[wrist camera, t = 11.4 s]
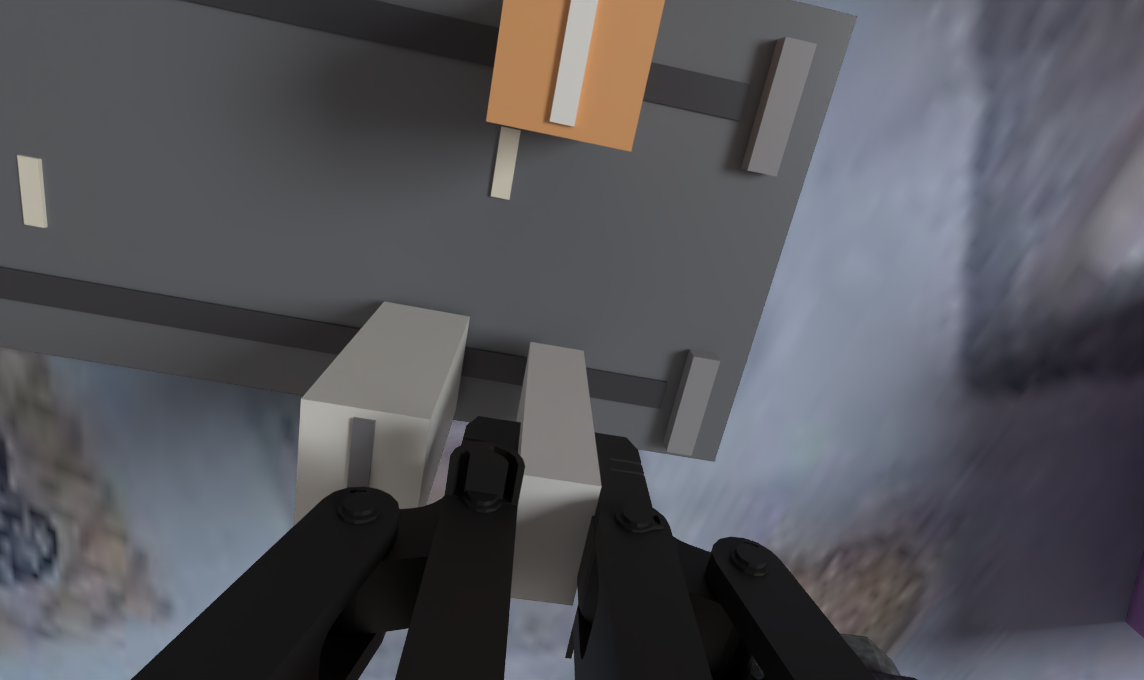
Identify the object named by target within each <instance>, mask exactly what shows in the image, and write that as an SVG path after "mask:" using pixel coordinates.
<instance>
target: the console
mask: <svg viewBox="0 0 1144 680" xmlns="http://www.w3.org/2000/svg"><path fill="white" fill-rule="evenodd" d="M502 7H503V0H0V347H4V348H11V349H17V350H23V351H29V352H35V353H42V354H48V355H54V356H60V357H67V358H73V359H79V360H85V361H91V362H98V363H104V364H110V365H116V366H123V367H129V368H135V369H141V370H147V371H154V372H160V373H166V374H172V375H179V376H185V377H191V378H197V379H203V380H210V381H216V382H222V383H228V384H235V385H241V386H247V387H253V388H259V389H266V390H272V391H278V392H284V393H291V394H297V395H303V396H304V395H305V394H306V392H307V391H308V390H309V389H310V388H311V387H312V385H313V384H314V383H315V382H316V381H317V380H318V378H319V377H320V376H321V375H322V374H323V373H324V371H325V370H326V369H327V368H328V367H329V366H330V364H331V363H332V362H333V361H334V360H335V359H336V357H337V356H338V355H339V354H340V353H341V351H342V350H343V349H344V348H345V347H346V346H347V344H348V343H349V342H350V341H351V340H352V339H353V337H354V336H355V335H356V334H357V333H358V332H359V330H360V329H361V328H362V327H363V326H364V325H365V323H366V322H367V321H368V320H369V319H370V318H371V316H372V315H373V314H374V313H375V312H376V311H377V309H378V308H379V307H380V306H381V305H382V304H383V302H384V301H385V302H391V303H396V304H402V305H408V306H413V307H419V308H424V309H430V310H436V311H441V312H447V313H453V314H458V315H464V316H470V319H469V326H468V333H467V339H466V346H465V352H464V359H463V366H462V372H461V379H460V385H459V392H458V399H457V405H456V411H455V414H454V417H453V420H459V421H465V422H471V421H473V420H474V419H475V418H476V417H478V416H482V417H489V418H495V419H501V420H508V421H514V422H516V420H517V414H518V408H519V403H520V397H521V392H522V386H523V381H524V375H525V370H526V364H527V359H528V353H529V347H530V342H535V343H541V344H547V345H553V346H559V347H565V348H571V349H577V350H583V351H584V357H585V365H586V373H587V380H588V388H589V395H590V403H591V410H592V418H593V426H594V432H596V433H602V434H609V435H615V436H621V437H627V438H628V439H629V441H630V442H631V443H632V444H633V445H634V446H635V447H636V448H637V449H639V450H645V451H651V452H658V453H664V454H670V455H676V456H683V457H689V458H695V459H701V460H707V461H715V458H716V455H717V452H718V449H719V445H720V442H721V439H722V436H723V433H724V430H725V427H726V424H727V420H728V417H729V414H730V411H731V408H732V405H733V402H734V399H735V395H736V392H737V389H738V386H739V383H740V380H741V377H742V374H743V371H744V367H745V364H746V361H747V358H748V355H749V352H750V349H751V346H752V342H753V339H754V336H755V333H756V330H757V327H758V324H759V321H760V317H761V314H762V311H763V308H764V305H765V302H766V299H767V296H768V293H769V289H770V286H771V283H772V280H773V277H774V274H775V271H776V268H777V264H778V261H779V258H780V255H781V252H782V249H783V246H784V243H785V239H786V236H787V233H788V230H789V227H790V224H791V221H792V218H793V215H794V211H795V208H796V205H797V202H798V199H799V196H800V193H801V190H802V186H803V183H804V180H805V177H806V174H807V171H808V168H809V165H810V161H811V158H812V155H813V152H814V149H815V146H816V143H817V140H818V137H819V133H820V130H821V127H822V124H823V121H824V118H825V115H826V112H827V108H828V105H829V102H830V99H831V96H832V93H833V90H834V87H835V83H836V80H837V77H838V74H839V71H840V68H841V65H842V62H843V59H844V55H845V52H846V49H847V46H848V43H849V40H850V37H851V34H852V30H853V27H854V24H855V21H856V18H857V16H855V15H851V14H847V13H843V12H838V11H834V10H830V9H826V8H822V7H818V6H813V5H809V4H805V3H801V2H797V1H793V0H665V3H664V7H663V12H662V16H661V21H660V25H659V30H658V34H657V39H656V43H655V48H654V52H653V56H652V61H651V65H650V70H649V74H648V79H647V83H646V88H645V92H644V97H643V101H642V106H641V110H640V115H639V119H638V124H637V128H636V133H635V137H634V141H633V146H632V150H631V152H630V151H626V150H621V149H616V148H611V147H606V146H602V145H597V144H592V143H587V142H582V141H578V140H573V139H568V138H563V137H559V136H554V135H549V134H544V133H539V132H535V131H530V130H525V129H520V128H515V127H511V126H506V125H501V124H496V123H492V122H487V121H486V118H487V111H488V104H489V97H490V90H491V83H492V76H493V70H494V63H495V56H496V49H497V42H498V35H499V28H500V21H501V14H502Z"/></svg>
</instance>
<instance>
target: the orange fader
mask: <svg viewBox="0 0 1144 680" xmlns="http://www.w3.org/2000/svg"><path fill="white" fill-rule="evenodd" d="M664 3H665V0H503V7H502V14H501V21H500V28H499V35H498V42H497V49H496V56H495V63H494V70H493V76H492V83H491V90H490V97H489V104H488V111H487V118H486V121H487V122H492V123H496V124H501V125H506V126H511V127H515V128H520V129H525V130H530V131H535V132H539V133H544V134H549V135H554V136H559V137H563V138H568V139H573V140H578V141H582V142H587V143H592V144H597V145H602V146H606V147H611V148H616V149H621V150H626V151H630V152H631V150H632V146H633V141H634V137H635V133H636V128H637V124H638V119H639V115H640V110H641V106H642V101H643V97H644V92H645V88H646V83H647V79H648V74H649V70H650V65H651V61H652V56H653V52H654V48H655V43H656V39H657V34H658V30H659V25H660V21H661V16H662V12H663V7H664Z"/></svg>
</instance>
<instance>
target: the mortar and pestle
mask: <svg viewBox="0 0 1144 680" xmlns="http://www.w3.org/2000/svg"><path fill="white" fill-rule="evenodd" d="M840 635H841V636H842V637H843V639H844V640H845V641H846V642H847V644H848V645H849V646H850V647H851V648H852V650H853V651H854V652H855V653H856V655H857V656H858V657H859V658H860V660H861V661H862V662H863V663H864V665H865V666H866V667H867V668H868V670H869V671H870V672H871V673H872V675H873V676H874V677H875V678H876V680H917V679H915V678H911V677H905V676H900V674H899V672H898V670H897V668H896V666H895V665H894V663H893V661H892V660H891V659H890V658H889V657H888V656H887V655H886V654H884V653H883V652H882V651H881V650H880V649H879V648H878V647H877V646H876V645H875V644H874V643H873V642H872V641H870V640H869V639H868V638H867V637H863V636H854V635H844V634H840ZM760 672H761V673H762V674H763V672H762V670H761V671H760ZM763 676H764V674H763Z"/></svg>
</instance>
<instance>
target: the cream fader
mask: <svg viewBox="0 0 1144 680" xmlns="http://www.w3.org/2000/svg"><path fill="white" fill-rule="evenodd" d="M469 319H470V316H464V315H458V314H453V313H447V312H441V311H436V310H430V309H424V308H419V307H413V306H408V305H402V304H396V303H391V302H385V301H384V302H383V304H382V305H381V306H380V307H379V308H378V309H377V311H376V312H375V313H374V314H373V315H372V316H371V318H370V319H369V320H368V321H367V322H366V323H365V325H364V326H363V327H362V328H361V329H360V330H359V332H358V333H357V334H356V335H355V336H354V337H353V339H352V340H351V341H350V342H349V343H348V344H347V346H346V347H345V348H344V349H343V350H342V351H341V353H340V354H339V355H338V356H337V357H336V359H335V360H334V361H333V362H332V363H331V364H330V366H329V367H328V368H327V369H326V370H325V371H324V373H323V374H322V375H321V376H320V377H319V378H318V380H317V381H316V382H315V383H314V384H313V385H312V387H311V388H310V389H309V390H308V391H307V392H306V394H305V395H304V396H303V397H302V398H301V407H300V426H299V444H298V462H297V480H296V498H295V516H294V526H295V525H296V524H297V523H298V522H299V521H300V520H301V519H302V518H303V517H304V516H305V515H306V514H307V513H308V512H309V511H310V510H312V509H313V508H314V507H315V506H316V505H317V504H318V503H319V502H320V501H321V500H322V499H323V498H325V497H326V496H328V495H330V494H331V493H333V492H334V491H338V490H341V489H345V488H348V487H363V486H364V487H370V488H376V489H380V490H382V491H384V492H386V493H389V494H391V496H392V497H393V498H394V499H395V500H396V501H397V502H398V505H399V509H408V508H416V507H423V506H426V503H427V500H428V497H429V494H430V491H431V488H432V484H433V481H434V478H435V475H436V472H437V468H438V465H439V462H440V459H441V456H442V452H443V449H444V446H445V443H446V440H447V436H448V433H449V430H450V427H451V424H452V421H453V417H454V414H455V411H456V405H457V399H458V392H459V385H460V379H461V372H462V366H463V359H464V352H465V346H466V339H467V333H468V326H469Z"/></svg>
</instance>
